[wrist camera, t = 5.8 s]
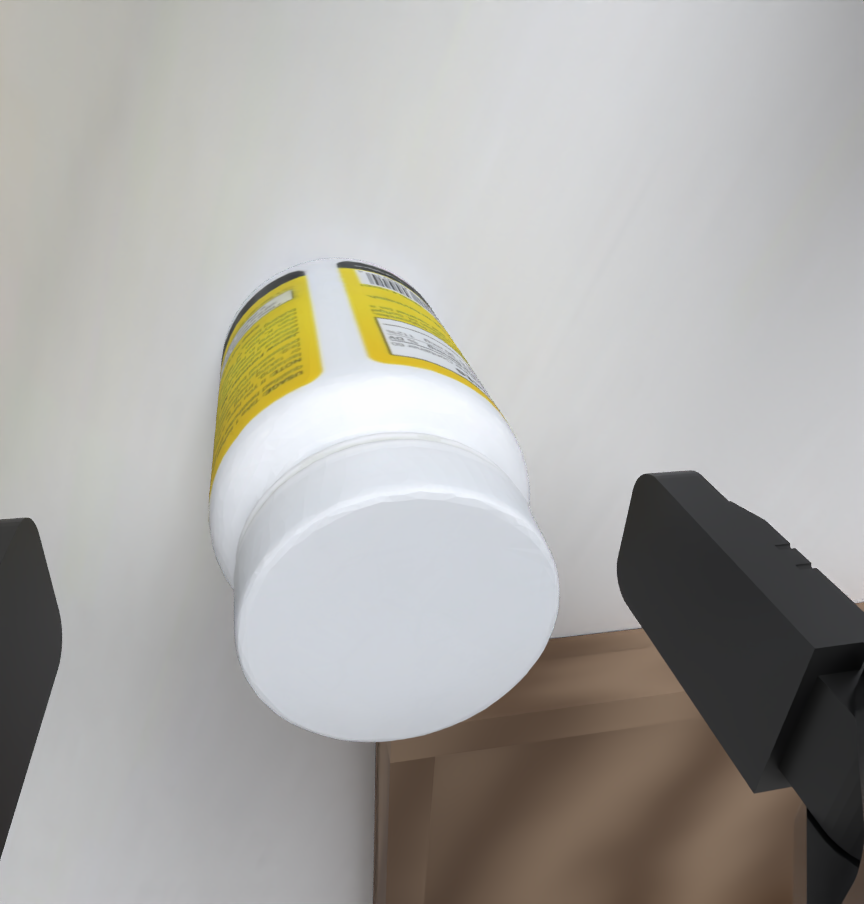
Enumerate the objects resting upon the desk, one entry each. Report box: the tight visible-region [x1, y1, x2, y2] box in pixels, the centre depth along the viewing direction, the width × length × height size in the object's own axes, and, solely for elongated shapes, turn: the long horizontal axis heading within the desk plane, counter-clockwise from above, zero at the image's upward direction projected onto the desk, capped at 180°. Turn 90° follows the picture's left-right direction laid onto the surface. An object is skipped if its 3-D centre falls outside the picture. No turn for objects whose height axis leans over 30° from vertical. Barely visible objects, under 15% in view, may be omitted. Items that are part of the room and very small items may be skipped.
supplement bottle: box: [209, 258, 560, 742], centre depth 12 cm, size 5×5×8 cm
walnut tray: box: [373, 603, 864, 904], centre depth 26 cm, size 22×18×2 cm
